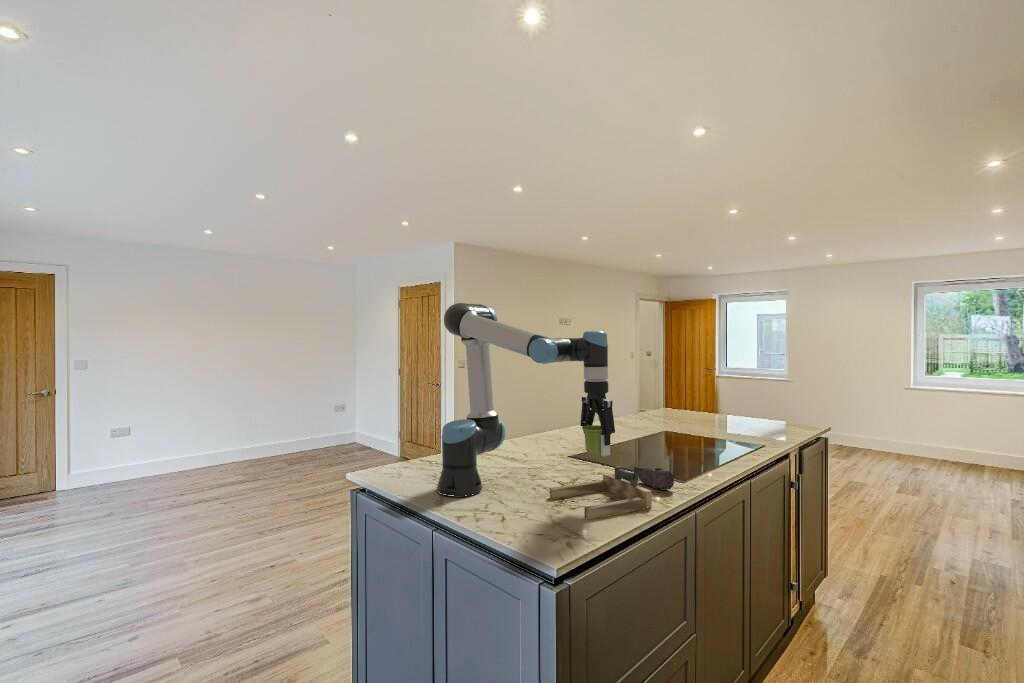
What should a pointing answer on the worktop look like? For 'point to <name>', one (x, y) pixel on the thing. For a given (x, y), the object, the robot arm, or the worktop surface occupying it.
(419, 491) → the worktop surface
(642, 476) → the perforated stone tool
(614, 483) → the bay
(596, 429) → the plant pot
